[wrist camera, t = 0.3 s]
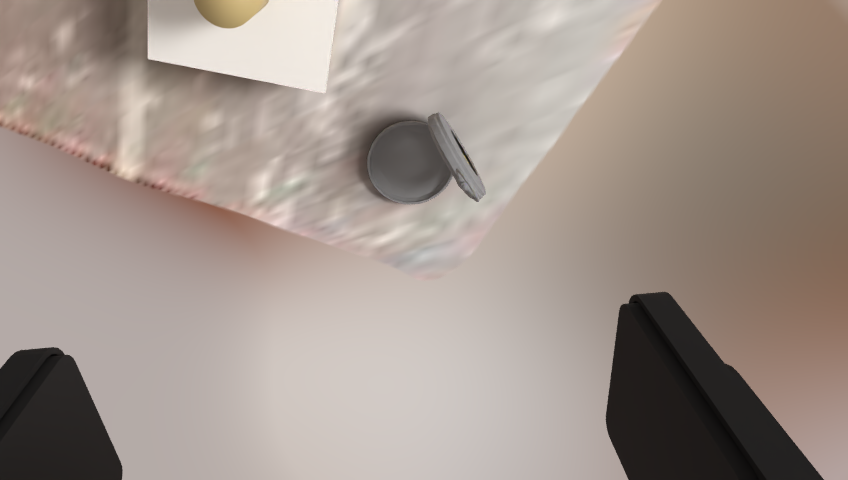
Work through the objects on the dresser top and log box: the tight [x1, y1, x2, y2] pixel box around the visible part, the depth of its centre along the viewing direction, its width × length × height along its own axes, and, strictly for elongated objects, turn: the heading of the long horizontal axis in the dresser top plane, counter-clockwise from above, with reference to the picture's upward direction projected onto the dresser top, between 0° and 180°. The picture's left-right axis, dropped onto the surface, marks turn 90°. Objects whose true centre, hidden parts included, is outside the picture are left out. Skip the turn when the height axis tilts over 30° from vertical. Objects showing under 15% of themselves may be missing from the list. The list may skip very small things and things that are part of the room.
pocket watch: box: [367, 113, 486, 204], centre depth 40 cm, size 8×8×10 cm
